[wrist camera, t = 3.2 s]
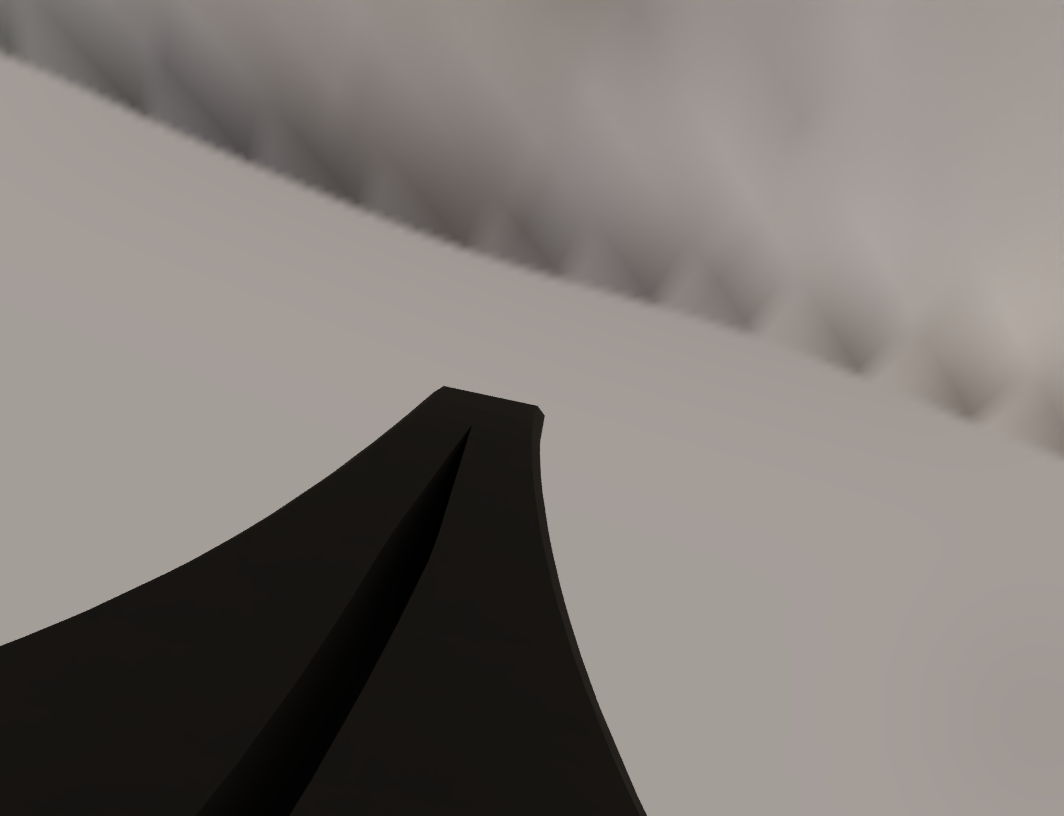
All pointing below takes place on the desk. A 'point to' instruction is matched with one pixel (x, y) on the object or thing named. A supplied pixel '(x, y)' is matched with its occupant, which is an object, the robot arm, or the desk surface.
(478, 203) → the desk surface
